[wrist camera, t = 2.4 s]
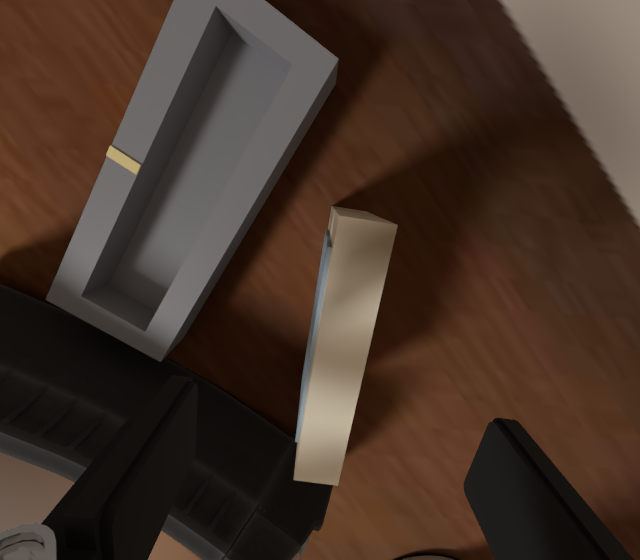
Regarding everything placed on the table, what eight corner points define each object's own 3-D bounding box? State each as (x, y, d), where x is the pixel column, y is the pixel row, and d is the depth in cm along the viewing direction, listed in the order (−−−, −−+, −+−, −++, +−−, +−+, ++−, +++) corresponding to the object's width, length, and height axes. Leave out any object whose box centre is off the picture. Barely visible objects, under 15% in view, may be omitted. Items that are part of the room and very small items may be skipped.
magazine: (-294, 336, 14) (188, 908, 9) (-292, 279, 13) (236, 877, 9) (85, 285, 30) (321, 485, 26) (96, 259, 29) (342, 461, 25)
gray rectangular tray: (184, 337, 23) (159, 363, 20) (87, 283, 22) (43, 300, 19) (335, 83, 18) (338, 58, 15) (221, -6, 17) (196, -56, 14)
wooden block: (332, 382, 24) (337, 485, 16) (301, 377, 24) (289, 479, 16) (365, 211, 20) (397, 225, 12) (329, 205, 20) (333, 214, 12)
